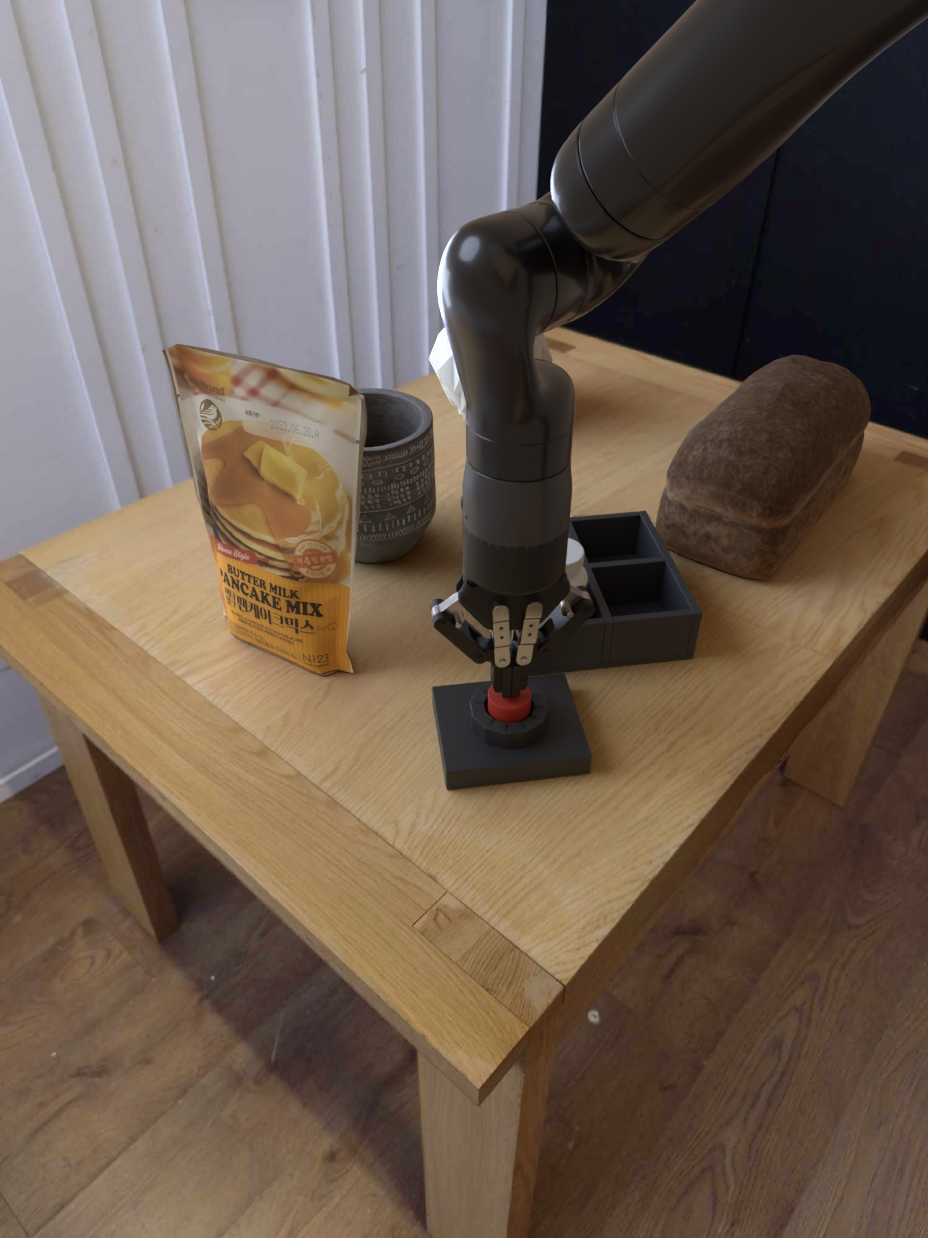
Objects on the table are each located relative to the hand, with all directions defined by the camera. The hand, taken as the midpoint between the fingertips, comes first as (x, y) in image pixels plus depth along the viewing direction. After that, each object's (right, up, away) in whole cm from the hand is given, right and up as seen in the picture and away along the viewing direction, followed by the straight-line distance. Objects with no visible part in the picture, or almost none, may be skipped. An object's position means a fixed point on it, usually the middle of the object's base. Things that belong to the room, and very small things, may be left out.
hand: (509, 690), depth 73 cm
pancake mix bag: (-21, +4, +14) cm, 25 cm away
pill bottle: (+5, +4, +13) cm, 15 cm away
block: (0, -4, +4) cm, 6 cm away
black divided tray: (+8, +7, +17) cm, 20 cm away
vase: (0, +34, +50) cm, 61 cm away
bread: (+31, +19, +32) cm, 48 cm away
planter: (-14, +15, +27) cm, 34 cm away
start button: (0, -2, +1) cm, 2 cm away
